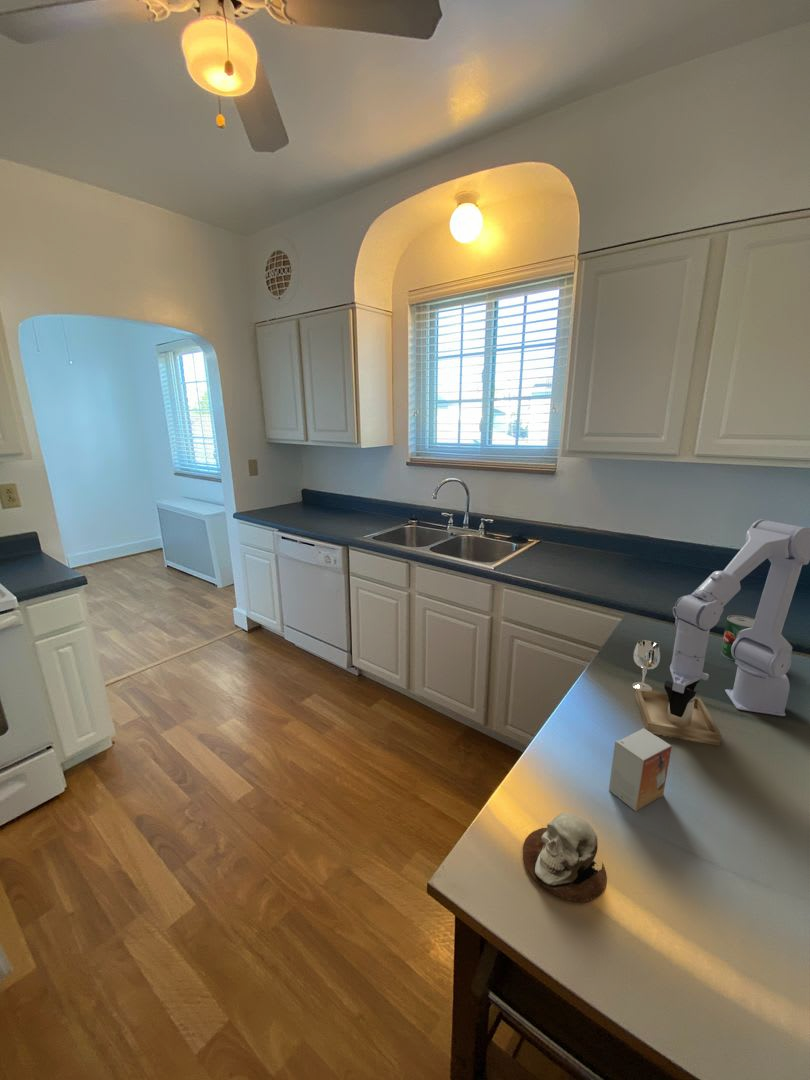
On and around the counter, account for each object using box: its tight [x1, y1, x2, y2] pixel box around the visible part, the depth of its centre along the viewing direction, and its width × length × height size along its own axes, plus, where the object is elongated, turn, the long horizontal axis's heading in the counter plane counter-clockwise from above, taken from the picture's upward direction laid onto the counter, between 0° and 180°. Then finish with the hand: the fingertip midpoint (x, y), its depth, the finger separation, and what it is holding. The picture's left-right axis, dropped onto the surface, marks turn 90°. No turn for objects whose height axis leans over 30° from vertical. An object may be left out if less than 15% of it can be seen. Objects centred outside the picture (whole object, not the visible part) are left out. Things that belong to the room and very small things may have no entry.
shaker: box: [667, 688, 697, 727], centre depth 98 cm, size 5×5×7 cm
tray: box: [634, 688, 722, 746], centre depth 99 cm, size 14×14×2 cm
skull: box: [522, 812, 608, 903], centre depth 67 cm, size 12×10×10 cm
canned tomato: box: [720, 614, 755, 662], centre depth 126 cm, size 8×8×11 cm
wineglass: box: [631, 639, 661, 691], centre depth 111 cm, size 6×6×12 cm
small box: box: [608, 727, 673, 812], centre depth 79 cm, size 8×6×10 cm
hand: (680, 706), depth 98 cm, fingers open, 7 cm apart
